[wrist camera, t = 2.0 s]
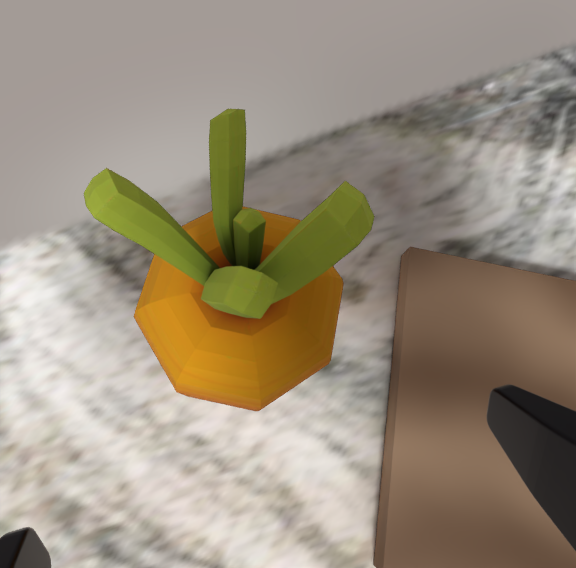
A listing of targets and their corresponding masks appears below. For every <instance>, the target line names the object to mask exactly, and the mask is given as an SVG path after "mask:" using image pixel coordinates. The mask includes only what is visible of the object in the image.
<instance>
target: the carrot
mask: <svg viewBox="0 0 576 568" xmlns="http://www.w3.org/2000/svg"><path fill="white" fill-rule="evenodd" d="M209 154H210V155H209V156H210V181H211V199H212V211H211V212H209V213H207V214H205V215H203V216H201V217H199V218H197V219H195V220H193V221H191V222H189V223H187V224H185V225H183V226H180V225H179V224H178V223H177V222H176V221H175V220H174V219H173V218H172V217H171V216H170V215H169V213H168V212H167V211H166V210H165V209H164V208H163V207H162V206H161V205H160V204H159V203H158V202H157V201H156V200H154V199H153V198H152V197H150V196H149V195H148V194H146V193H145V192H144V191H142V190H141V189H140V188H138V187H137V186H136V185H134V184H133V183H132V182H130V181H129V180H127V179H126V178H124V177H122V176H120V175H118V174H116V173H115V172H113V171H111V170H109V169H107V168H106V169H105V170H103V171H102V172H101V173H99V174H98V175H96V176H95V177H93V179H92V180H91V182H90V183H89V185H88V187H87V188H86V190H85V192H84V198H85V203H86V206H87V208H88V209H89V211H90V212H91V214H92V215H93V217H94V218H95V219H97V220H98V221H100V222H101V223H103V224H104V225H106V226H108V227H109V228H111V229H112V230H114V231H116V232H117V233H119V234H121V235H123V236H125V237H127V238H129V239H130V240H132V241H134V242H136V243H138V244H140V245H141V246H143V247H145V248H146V249H148V250H149V251H151V252H152V253H154V257H153V260H152V263H151V266H150V269H149V271H148V274H147V277H146V280H145V283H144V286H143V289H142V292H141V295H140V298H139V301H138V304H137V307H136V310H135V314H134V318H135V320H136V322H137V324H138V325H139V327H140V329H141V331H142V332H143V334H144V336H145V338H146V339H147V341H148V343H149V345H150V346H151V348H152V350H153V352H154V353H155V355H156V357H157V359H158V360H159V362H160V364H161V366H162V367H163V369H164V371H165V373H166V374H167V376H168V378H169V380H170V381H171V383H172V385H173V387H174V388H175V390H176V392H178V393H181V394H183V395H186V396H189V397H193V398H198V399H202V400H207V401H212V402H216V403H221V404H225V405H230V406H235V407H239V408H244V409H248V410H253V411H259V410H261V409H262V408H264V407H265V406H267V405H268V404H270V403H271V402H273V401H274V400H276V399H277V398H279V397H280V396H282V395H283V394H285V393H286V392H288V391H289V390H291V389H292V388H294V387H295V386H297V385H298V384H300V383H301V382H303V381H304V380H305V379H307V378H308V377H310V376H311V375H313V374H314V373H316V372H317V371H319V370H320V369H322V368H323V367H325V366H326V365H328V364H329V362H330V361H331V355H332V349H333V343H334V338H335V332H336V326H337V320H338V314H339V308H340V302H341V296H342V290H343V279H342V278H341V277H340V275H339V274H338V272H337V271H336V270H335V268H334V267H333V265H334V264H336V263H337V262H338V261H339V260H341V259H342V258H343V257H344V256H346V255H347V254H348V253H349V252H351V251H352V250H353V249H354V248H356V247H357V246H358V245H359V244H360V242H361V241H362V240H363V239H364V238H365V236H366V235H367V234H368V233H369V232H370V231H371V228H372V224H373V220H374V215H373V212H372V210H371V208H370V206H369V204H368V202H367V200H366V197H365V195H364V194H363V193H361V192H360V191H359V190H357V189H356V188H355V187H353V186H352V185H350V184H349V183H348V182H346V181H345V182H343V183H342V184H341V185H340V186H339V187H338V188H337V189H336V190H335V191H334V192H333V193H332V194H331V195H330V196H329V197H328V198H327V199H326V200H325V201H323V202H322V203H321V204H320V205H319V206H318V207H317V208H315V209H314V210H313V211H312V212H311V213H310V214H309V215H308V216H306V217H305V218H304V219H303V220H302V221H300V220H298V219H294V218H290V217H286V216H281V215H277V214H273V213H268V212H264V211H260V210H256V209H252V208H247V207H243V190H244V176H245V160H246V157H245V155H246V122H245V110H242V109H227V110H225V111H224V112H222V113H221V114H219V115H218V116H216V117H215V118H213V119H212V120H210V134H209Z"/></svg>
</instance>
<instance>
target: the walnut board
mask: <svg viewBox="0 0 576 568" xmlns="http://www.w3.org/2000/svg"><path fill="white" fill-rule="evenodd" d="M508 384H511V385H514V386H517V387H519V388H522V389H524V390H527V391H529V392H531V393H534V394H536V395H539V396H541V397H543V398H546V399H548V400H551V401H553V402H555V403H558V404H560V405H562V406H565V407H567V408H570V409H572V410H574V411H576V281H573V280H568V279H564V278H559V277H554V276H549V275H544V274H539V273H535V272H530V271H525V270H520V269H515V268H510V267H506V266H501V265H496V264H491V263H486V262H482V261H477V260H472V259H467V258H462V257H457V256H453V255H448V254H443V253H438V252H433V251H428V250H424V249H419V248H414V247H409V248H408V249H407V251H406V252H405V253H404V254H403V255H402V256H401V266H400V277H399V288H398V299H397V310H396V321H395V332H394V344H393V355H392V366H391V377H390V388H389V399H388V410H387V422H386V433H385V444H384V455H383V466H382V477H381V488H380V499H379V511H378V522H377V533H376V544H375V555H374V566H375V567H376V568H576V551H575V550H574V549H573V547H572V546H571V545H570V544H569V542H568V541H567V540H566V538H565V537H564V536H563V534H562V533H561V532H560V531H559V529H558V528H557V527H556V525H555V524H554V523H553V522H552V520H551V519H550V518H549V516H548V515H547V514H546V512H545V511H544V510H543V509H542V507H541V506H540V505H539V503H538V502H537V501H536V499H535V498H534V497H533V495H532V494H531V492H530V491H529V489H528V488H527V486H526V485H525V483H524V482H523V480H522V479H521V477H520V475H519V474H518V472H517V471H516V469H515V468H514V466H513V464H512V463H511V461H510V460H509V458H508V457H507V455H506V453H505V452H504V450H503V449H502V447H501V446H500V444H499V442H498V441H497V439H496V438H495V436H494V435H493V433H492V431H491V430H490V428H489V426H488V423H487V418H486V416H487V409H488V402H489V396H490V392H491V391H492V389H494V388H497V387H500V386H503V385H508Z"/></svg>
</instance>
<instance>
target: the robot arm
mask: <svg viewBox="0 0 576 568" xmlns="http://www.w3.org/2000/svg"><path fill="white" fill-rule="evenodd" d="M486 418H487V423H488V426H489V428H490V430H491V431H492V433H493V435H494V436H495V438H496V439H497V441H498V442H499V444H500V446H501V447H502V449H503V450H504V452H505V453H506V455H507V457H508V458H509V460H510V461H511V463H512V464H513V466H514V468H515V469H516V471H517V472H518V474H519V475H520V477H521V479H522V480H523V482H524V483H525V485H526V486H527V488H528V489H529V491H530V492H531V494H532V495H533V497H534V498H535V499H536V501H537V502H538V503H539V505H540V506H541V507H542V509H543V510H544V511H545V512H546V514H547V515H548V516H549V518H550V519H551V520H552V522H553V523H554V524H555V525H556V527H557V528H558V529H559V531H560V532H561V533H562V534H563V536H564V537H565V538H566V540H567V541H568V542H569V544H570V545H571V546H572V547H573V549H574V550H575V551H576V411H574V410H572V409H570V408H567V407H565V406H562V405H560V404H558V403H555V402H553V401H551V400H548V399H546V398H543V397H541V396H539V395H536V394H534V393H531V392H529V391H527V390H524V389H522V388H519V387H517V386H514V385H511V384H508V385H503V386H500V387H497V388H494V389H492V391H491V392H490V396H489V402H488V409H487V416H486ZM0 568H51V559H50V555H49V553H48V551H47V549H46V548H45V546H44V545H43V543H42V541H41V540H40V538H39V537H38V535H37V534H36V532H35V531H34V529H32V528H30V527H26V528H22V529H19V530H16V531H12V532H9V533H7V534H5V535H3V536H2V537H1V538H0Z"/></svg>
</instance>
